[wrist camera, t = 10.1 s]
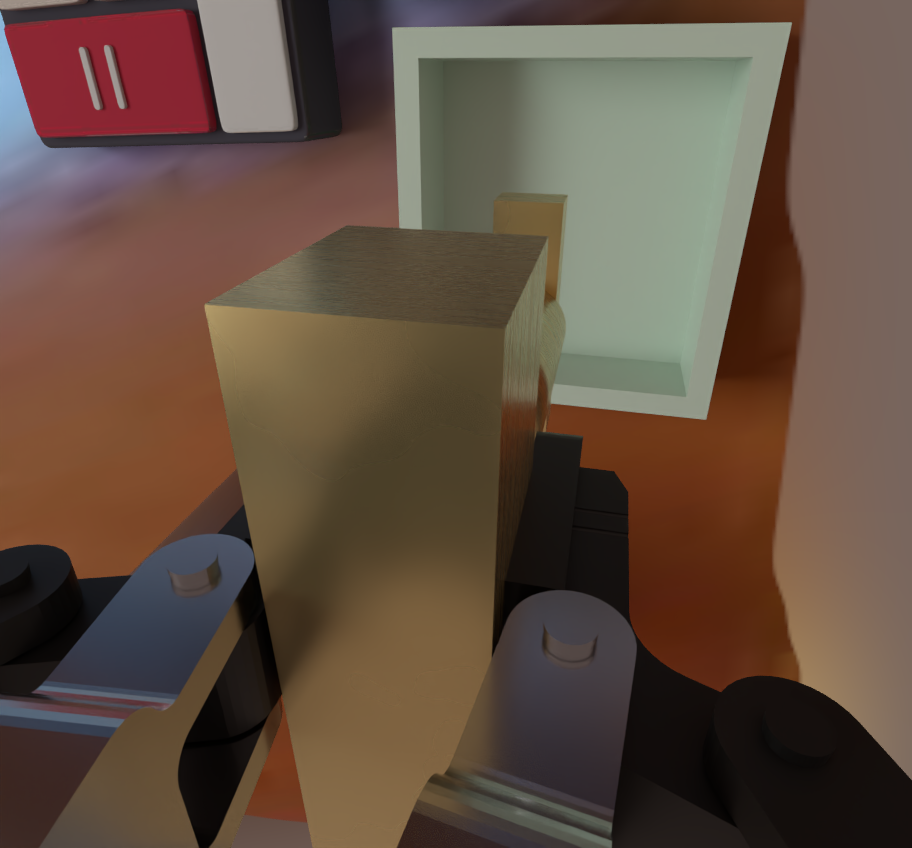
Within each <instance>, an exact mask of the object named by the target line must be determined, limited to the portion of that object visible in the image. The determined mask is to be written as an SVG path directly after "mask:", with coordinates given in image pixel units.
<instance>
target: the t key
mask: <svg viewBox="0 0 912 848" xmlns="http://www.w3.org/2000/svg"><path fill="white" fill-rule="evenodd" d="M567 201H568V195H565V194H539V193H514V192H502V193H501V194H500V195H499V196H498V197H497V198H496V199H495V200H494V211H493V233H480V232H461V231H442V230H423V229H404V228H385V227H366V226H345V227H343V228H341V229H340V230H338V231H336V232H334V233H332V234H330V235H329V236H327V237H325V238H323V239H321V240H320V241H318V242H316V243H314V244H312V245H311V246H309V247H307V248H305V249H303V250H302V251H300V252H298V253H296V254H294V255H293V256H291V257H289V258H287V259H285V260H284V261H282V262H280V263H278V264H276V265H274V266H273V267H271V268H269V269H267V270H265V271H264V272H262V273H260V274H258V275H256V276H255V277H253V278H251V279H249V280H247V281H246V282H244V283H242V284H240V285H238V286H237V287H235V288H233V289H231V290H229V291H228V292H226V293H224V294H222V295H220V296H219V297H217V298H215V299H213V300H211V301H209V302H208V303H206V304H204V305H205V310H206V315H207V320H208V325H209V330H210V335H211V340H212V346H213V351H214V356H215V361H216V366H217V371H218V376H219V381H220V386H221V391H222V396H223V401H224V406H225V411H226V416H227V421H228V426H229V431H230V436H231V441H232V446H233V451H234V456H235V461H236V466H237V471H238V476H239V481H240V486H241V491H242V496H243V501H244V506H245V511H246V516H247V521H248V526H249V531H250V536H251V541H252V546H253V551H254V556H255V561H256V566H257V571H258V576H259V581H260V586H261V591H262V596H263V601H264V606H265V611H266V616H267V621H268V626H269V631H270V636H271V641H272V646H273V651H274V656H275V661H276V666H277V671H278V676H279V681H280V686H281V691H282V696H283V701H284V706H285V711H286V716H287V721H288V726H289V731H290V736H291V741H292V746H293V751H294V756H295V761H296V766H297V771H298V776H299V781H300V786H301V791H302V796H303V801H304V806H305V811H306V816H307V821H308V826H309V831H310V836H311V841H312V846H313V848H397V846H398V843H399V841H400V838H401V836H402V834H403V831H404V829H405V827H406V824H407V822H408V819H409V817H410V815H411V812H412V810H413V808H414V805H415V803H416V801H417V799H418V797H419V795H420V793H421V791H422V789H423V787H424V786H425V784H426V782H427V781H428V780H429V778H430V777H431V776H432V775H433V774H435V773H439V774H442V775H443V774H444V773H445V772H446V770H447V769H448V767H449V765H450V763H451V761H452V758H453V756H454V753H455V751H456V748H457V746H458V743H459V741H460V738H461V736H462V733H463V731H464V728H465V726H466V723H467V720H468V718H469V715H470V713H471V710H472V708H473V705H474V703H475V700H476V698H477V695H478V692H479V690H480V687H481V685H482V682H483V680H484V677H485V675H486V672H487V670H488V667H489V664H490V662H491V659H492V657H493V654H494V652H495V649H496V647H497V644H498V642H499V639H500V636H501V634H502V631H503V614H504V595H505V580H506V576H507V571H508V567H509V563H510V559H511V555H512V551H513V547H514V542H515V538H516V534H517V530H518V526H519V522H520V517H521V513H522V509H523V505H524V501H525V497H526V493H527V488H528V484H529V480H530V476H531V472H532V465H533V451H534V441H535V437H536V433H537V431H541V432H546V429H547V425H548V420H549V416H550V407H551V394H552V390H553V386H554V381H555V377H556V373H557V369H558V364H559V360H560V356H561V351H562V347H563V343H564V338H565V333H566V321H565V316H564V313H563V311H562V308H561V307H560V305H559V298H560V285H561V273H562V261H563V249H564V237H565V225H566V213H567Z"/></svg>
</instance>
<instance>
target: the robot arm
mask: <svg viewBox="0 0 912 848" xmlns="http://www.w3.org/2000/svg"><path fill="white" fill-rule="evenodd" d="M582 440H583V436H576V435H567V434H559V433H550V432H541V431H537V433H536V437H535V441H534V451H533V465H532V472H531V476H530V480H529V484H528V488H527V493H526V497H525V501H524V505H523V509H522V513H521V517H520V522H519V526H518V530H517V534H516V538H515V542H514V547H513V551H512V555H511V559H510V563H509V567H508V571H507V576H506V580H505V595H504V614H503V631H502V634H501V636H500V639H499V642H498V644H497V647H496V649H495V652H494V654H493V657H492V659H491V662H490V664H489V667H488V670H487V672H486V675H485V677H484V680H483V682H482V685H481V687H480V690H479V692H478V695H477V698H476V700H475V703H474V705H473V708H472V710H471V713H470V715H469V718H468V720H467V723H466V726H465V728H464V731H463V733H462V736H461V738H460V741H459V743H458V746H457V748H456V751H455V753H454V756H453V758H452V761H451V763H450V765H449V767H448V769H447V770H446V772H445V773H444V774H443V775H442V774H439V773H435V774H433V775H432V776H431V777H430V778H429V780H428V781H427V782H426V784H425V786H424V787H423V789H422V791H421V793H420V795H419V797H418V799H417V801H416V803H415V805H414V808H413V810H412V812H411V815H410V817H409V819H408V822H407V824H406V827H405V829H404V831H403V834H402V836H401V838H400V841H399V843H398V846H397V848H912V780H911V779H910V778H909V777H908V776H907V775H906V773H905V772H904V771H903V770H902V769H901V768H900V767H899V766H898V765H897V764H896V762H895V761H894V760H893V759H892V758H891V757H890V756H889V755H888V754H887V752H886V751H885V750H884V749H883V748H882V747H881V746H880V745H879V744H878V743H877V742H876V741H875V739H874V738H873V737H872V736H871V735H870V734H869V733H868V732H867V730H866V729H865V728H864V727H863V726H862V725H861V724H860V723H859V722H858V721H857V720H856V719H855V718H854V717H853V716H852V715H851V714H850V713H849V712H848V711H847V710H845V709H844V708H843V707H842V706H840V705H839V704H838V703H837V702H835V701H834V700H832V699H831V698H829V697H827V696H826V695H824V694H823V693H821V692H819V691H817V690H815V689H813V688H811V687H809V686H806V685H804V684H801V683H799V682H796V681H792V680H789V679H785V678H780V677H773V676H753V677H746V678H743V679H740V680H737V681H735V682H733V683H732V684H730V685H728V686H727V687H726V688H725V689H724V690H723V691H722V692H719V691H717V690H714V689H712V688H710V687H708V686H705V685H703V684H701V683H699V682H696V681H694V680H692V679H690V678H688V677H685V676H683V675H682V674H680V673H678V672H676V671H674V670H672V669H671V668H669V667H668V666H666V665H664V664H663V663H662V662H660V661H659V660H658V659H657V658H655V657H654V656H653V655H652V654H651V653H650V652H649V651H648V650H647V649H646V648H645V647H644V646H643V644H642V643H641V641H640V640H639V639H638V637H637V636H636V634H635V632H634V630H633V628H632V624H631V621H630V616H629V543H628V491H627V490H626V488H625V487H624V485H623V484H622V482H621V481H620V480H619V478H618V477H617V475H616V474H615V472H614V471H606V470H598V469H590V468H582V467H580V458H581V449H582ZM281 695H282V691H281V686H280V681H279V676H278V671H277V666H276V661H275V656H274V651H273V646H272V641H271V636H270V631H269V626H268V621H267V616H266V611H265V606H264V601H263V596H262V591H261V586H260V581H259V576H258V571H257V566H256V561H255V556H254V551H253V546H252V541H251V536H250V531H249V526H248V521H247V516H246V511H245V506H244V501H243V496H242V491H241V486H240V481H239V476H238V471H237V469H236V470H235V471H234V472H233V473H232V474H231V475H230V476H229V477H228V478H227V479H226V480H225V481H224V482H223V483H222V484H221V485H220V486H219V487H218V488H216V489H215V490H214V491H213V492H212V493H211V494H210V495H209V496H208V497H207V498H206V499H205V500H204V501H203V502H202V503H201V504H200V505H199V506H198V507H197V508H196V509H195V510H194V511H193V512H192V513H191V514H190V515H189V516H188V517H187V518H186V519H185V520H184V521H183V522H182V523H181V524H180V525H179V526H178V527H177V528H176V529H175V530H174V531H173V532H172V533H171V534H170V535H169V536H168V537H167V538H166V539H165V540H164V541H163V542H162V543H161V544H160V545H159V546H158V547H157V548H156V549H155V550H154V551H153V552H152V553H151V554H150V555H149V556H148V557H147V558H146V559H145V560H144V561H143V562H142V563H141V564H140V565H139V566H138V567H137V568H136V569H135V570H134V571H133V572H131V573H130V574H129V575H128V576H115V577H101V578H88V579H77V577H76V574H75V571H74V568H73V566H72V563H71V560H70V558H69V556H68V555H67V553H66V552H64V551H63V550H62V549H59V548H57V547H54V546H49V545H25V546H18V547H14V548H9V549H5V550H2V551H0V848H231V845H232V843H233V840H234V838H235V836H236V833H237V831H238V828H239V826H240V823H241V821H242V818H243V816H244V813H245V811H246V808H247V806H248V803H249V801H250V798H251V796H252V793H253V791H254V788H255V786H256V783H257V781H258V778H259V776H260V773H261V771H262V768H263V766H264V763H265V761H266V758H267V756H268V753H269V751H270V748H271V746H272V743H273V741H274V738H275V736H276V733H277V731H278V729H279V726H280V723H281V719H282V712H283V710H282V702H281Z"/></svg>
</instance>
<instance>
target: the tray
mask: <svg viewBox="0 0 912 848" xmlns="http://www.w3.org/2000/svg"><path fill="white" fill-rule="evenodd" d="M791 25H792V22H783V23H706V24H630V25H553V26H476V27H400V28H392V36H393V63H394V91H395V118H396V145H397V172H398V200H399V227H400V228H404V229H423V230H442V231H461V232H480V233H493V211H494V200H495V199H496V198H497V197H498V196H499V195H500V194H501V193H502V192H514V193H539V194H565V195H568V201H567V213H566V225H565V237H564V249H563V261H562V273H561V285H560V298H559V305H560V307H561V308H562V311H563V313H564V316H565V321H566V333H565V338H564V343H563V347H562V351H561V356H560V360H559V364H558V369H557V373H556V377H555V381H554V386H553V390H552V394H551V403H553V404H562V405H572V406H581V407H591V408H600V409H610V410H619V411H629V412H638V413H648V414H657V415H666V416H676V417H685V418H695V419H704V420H706V418H707V413H708V408H709V404H710V399H711V395H712V390H713V385H714V381H715V376H716V372H717V367H718V362H719V358H720V353H721V348H722V344H723V339H724V335H725V330H726V325H727V321H728V316H729V312H730V307H731V302H732V298H733V293H734V288H735V284H736V279H737V275H738V270H739V265H740V261H741V256H742V252H743V247H744V242H745V238H746V233H747V228H748V224H749V219H750V215H751V210H752V205H753V201H754V196H755V192H756V187H757V182H758V178H759V173H760V168H761V164H762V159H763V155H764V150H765V145H766V141H767V136H768V132H769V127H770V122H771V118H772V113H773V108H774V104H775V99H776V95H777V90H778V85H779V81H780V76H781V71H782V67H783V62H784V58H785V53H786V48H787V44H788V39H789V35H790V30H791Z"/></svg>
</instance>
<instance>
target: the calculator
mask: <svg viewBox="0 0 912 848" xmlns="http://www.w3.org/2000/svg"><path fill="white" fill-rule="evenodd" d="M0 11H1V14H2V17H3V20H4V24H5V28H4V30H5V35H6V38H7V42H8V45H9V48H10V51H11V54H12V57H13V61H14V64H15V67H16V70H17V73H18V76H19V79H20V83H21V86H22V89H23V92H24V95H25V98H26V102H27V105H28V108H29V111H30V114H31V117H32V121H33V124H34V127H35V130H36V132H37V134H38V135H39V136H40V138H41V140H42V142H43V143H44V144H45V145H46V146H47V147H50V148H71V147H112V146H153V145H194V144H234V143H275V142H304V141H311V140H317V139H323V138H329V137H334V136H337V135H339V134H340V132H341V129H342V123H341V113H340V104H339V95H338V86H337V77H336V68H335V59H334V50H333V41H332V33H331V24H330V15H329V6H328V0H0Z"/></svg>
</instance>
